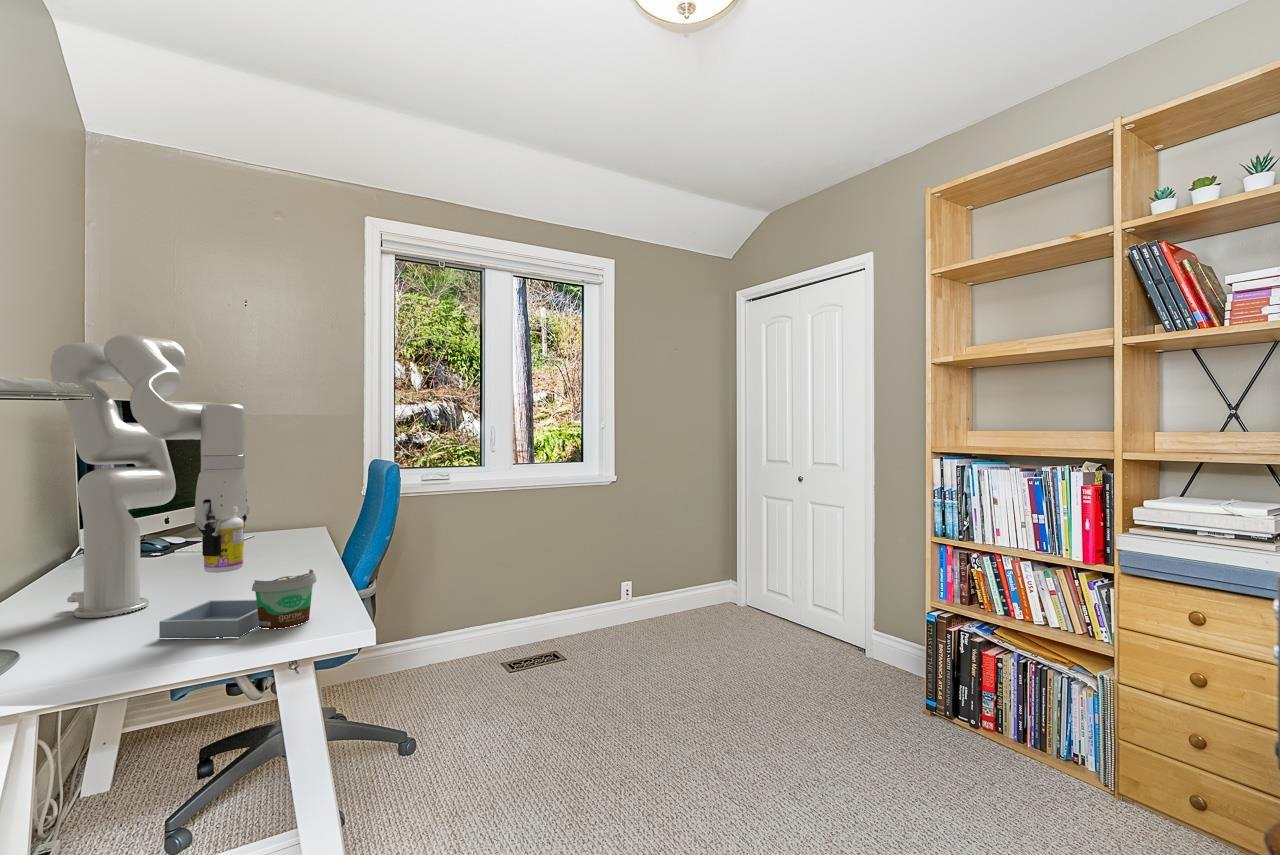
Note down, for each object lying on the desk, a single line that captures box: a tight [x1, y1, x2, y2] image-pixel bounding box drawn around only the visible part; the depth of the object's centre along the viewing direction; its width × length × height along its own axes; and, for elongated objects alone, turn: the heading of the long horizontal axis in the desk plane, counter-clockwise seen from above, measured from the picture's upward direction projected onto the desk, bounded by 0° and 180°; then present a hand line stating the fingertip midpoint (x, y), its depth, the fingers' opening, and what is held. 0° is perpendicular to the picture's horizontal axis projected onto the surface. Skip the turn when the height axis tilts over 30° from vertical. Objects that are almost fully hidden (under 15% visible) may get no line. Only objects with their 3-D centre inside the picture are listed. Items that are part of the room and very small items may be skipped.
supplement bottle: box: [203, 506, 244, 574], centre depth 124 cm, size 7×7×13 cm
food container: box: [251, 568, 317, 630], centre depth 126 cm, size 12×6×10 cm, turn 148°
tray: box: [158, 599, 259, 638], centre depth 124 cm, size 15×15×4 cm
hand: (223, 551), depth 124 cm, fingers closed on supplement bottle, 6 cm apart
